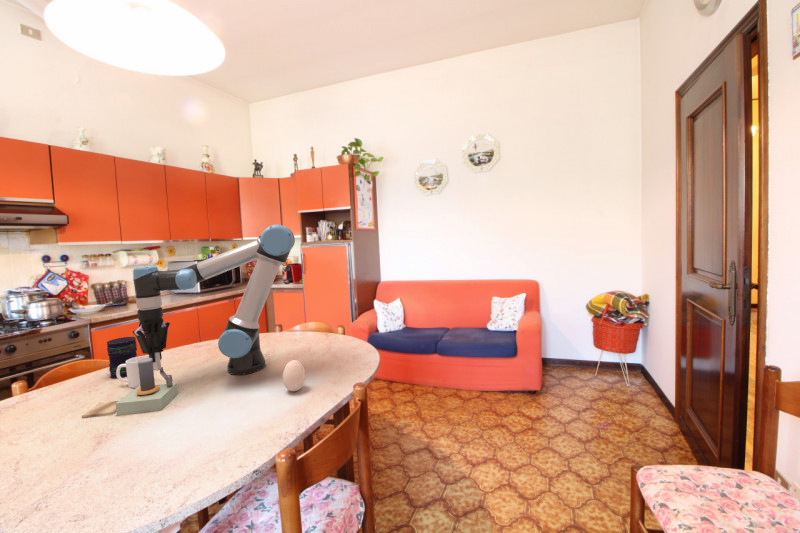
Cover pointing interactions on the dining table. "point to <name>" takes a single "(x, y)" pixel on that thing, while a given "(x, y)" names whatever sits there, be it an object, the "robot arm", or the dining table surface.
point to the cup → (131, 371)
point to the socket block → (146, 400)
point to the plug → (146, 377)
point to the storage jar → (120, 354)
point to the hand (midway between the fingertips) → (156, 369)
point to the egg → (294, 375)
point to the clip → (166, 378)
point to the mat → (101, 409)
